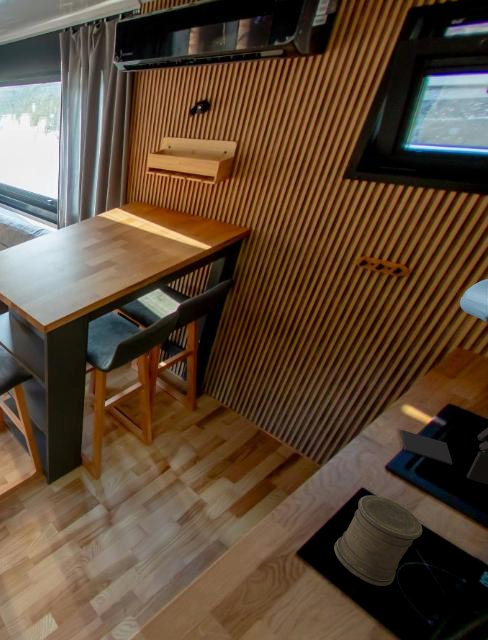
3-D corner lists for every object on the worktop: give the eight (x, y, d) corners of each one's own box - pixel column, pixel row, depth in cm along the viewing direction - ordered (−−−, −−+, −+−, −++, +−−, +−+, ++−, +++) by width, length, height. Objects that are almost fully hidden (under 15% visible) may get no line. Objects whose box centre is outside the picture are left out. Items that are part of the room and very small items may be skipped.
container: (379, 595, 75) (412, 547, 67) (324, 553, 83) (348, 505, 75) (402, 572, 78) (436, 523, 70) (346, 533, 85) (371, 485, 78)
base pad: (445, 445, 99) (446, 442, 99) (451, 466, 95) (452, 463, 94) (400, 432, 105) (401, 429, 104) (403, 451, 100) (405, 448, 99)
